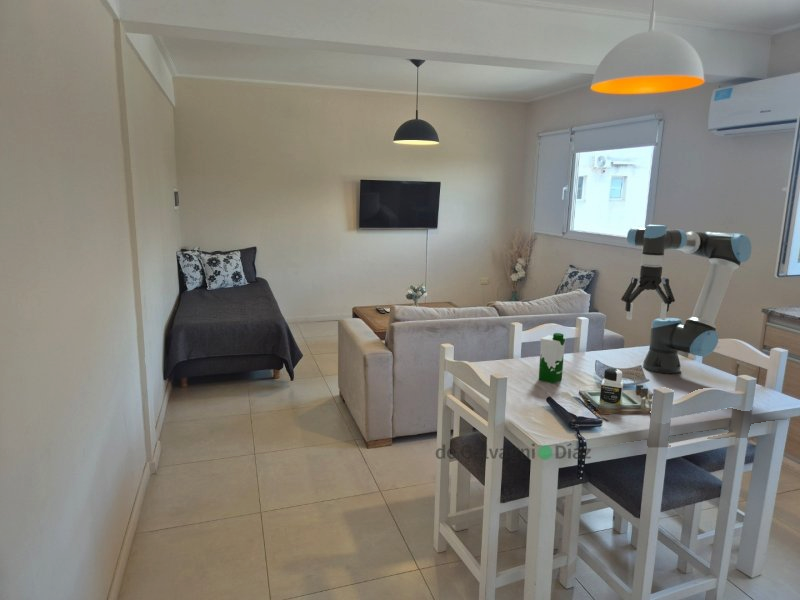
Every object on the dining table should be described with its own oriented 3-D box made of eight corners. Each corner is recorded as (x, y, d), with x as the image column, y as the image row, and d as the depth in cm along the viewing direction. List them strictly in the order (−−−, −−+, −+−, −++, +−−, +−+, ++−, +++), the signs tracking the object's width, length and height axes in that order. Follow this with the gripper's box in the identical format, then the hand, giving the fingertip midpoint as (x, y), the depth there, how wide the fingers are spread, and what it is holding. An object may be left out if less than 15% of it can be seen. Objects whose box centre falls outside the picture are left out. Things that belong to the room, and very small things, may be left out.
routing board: (648, 393, 213) (649, 382, 212) (676, 413, 193) (678, 401, 192) (578, 393, 211) (579, 382, 210) (600, 413, 191) (601, 402, 190)
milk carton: (555, 384, 220) (559, 337, 216) (535, 379, 226) (538, 333, 222) (564, 379, 227) (568, 333, 223) (544, 374, 232) (547, 329, 228)
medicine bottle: (599, 402, 199) (602, 371, 196) (601, 395, 205) (604, 365, 203) (620, 405, 196) (623, 374, 193) (621, 399, 202) (624, 368, 200)
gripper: (677, 264, 211) (671, 317, 215) (615, 264, 210) (610, 317, 214) (688, 267, 204) (682, 321, 208) (624, 266, 202) (619, 321, 206)
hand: (645, 319), depth 211 cm, fingers open, 13 cm apart
